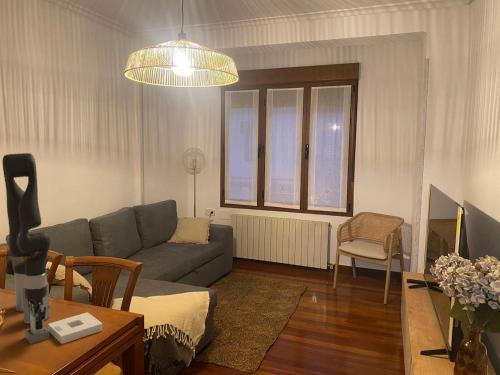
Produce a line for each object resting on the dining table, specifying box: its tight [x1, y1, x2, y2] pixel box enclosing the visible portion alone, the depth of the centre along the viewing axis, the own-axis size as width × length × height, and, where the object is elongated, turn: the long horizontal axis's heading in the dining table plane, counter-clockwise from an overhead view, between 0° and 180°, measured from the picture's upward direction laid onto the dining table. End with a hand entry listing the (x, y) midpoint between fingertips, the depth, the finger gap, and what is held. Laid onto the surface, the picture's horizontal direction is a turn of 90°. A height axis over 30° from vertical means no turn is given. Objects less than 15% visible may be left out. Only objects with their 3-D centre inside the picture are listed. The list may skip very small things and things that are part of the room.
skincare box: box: [22, 281, 51, 325], centre depth 165 cm, size 8×7×16 cm
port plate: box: [47, 312, 103, 345], centre depth 158 cm, size 14×16×3 cm
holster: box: [24, 325, 50, 345], centre depth 152 cm, size 7×7×3 cm
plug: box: [29, 309, 45, 335], centre depth 151 cm, size 4×4×10 cm
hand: (37, 326), depth 152 cm, fingers closed on plug, 3 cm apart
